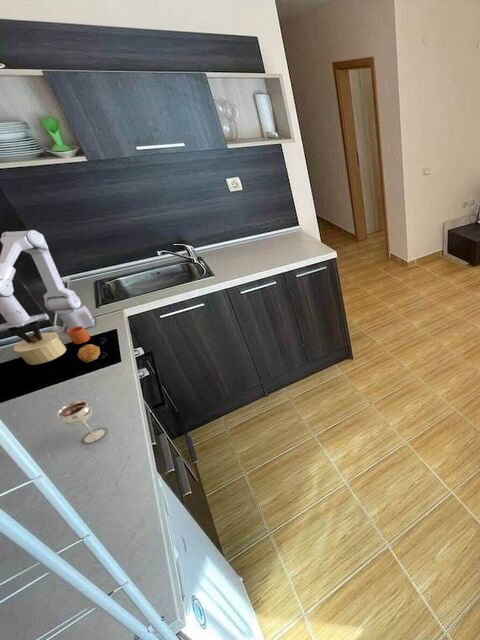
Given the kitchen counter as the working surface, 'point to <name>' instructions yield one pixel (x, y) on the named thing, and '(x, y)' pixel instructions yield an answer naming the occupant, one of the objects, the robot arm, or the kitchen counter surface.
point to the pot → (44, 353)
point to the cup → (78, 335)
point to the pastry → (88, 353)
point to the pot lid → (36, 342)
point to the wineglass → (79, 418)
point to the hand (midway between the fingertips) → (35, 340)
